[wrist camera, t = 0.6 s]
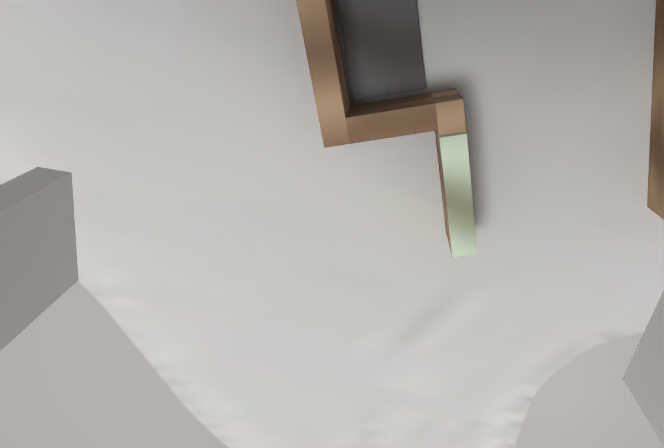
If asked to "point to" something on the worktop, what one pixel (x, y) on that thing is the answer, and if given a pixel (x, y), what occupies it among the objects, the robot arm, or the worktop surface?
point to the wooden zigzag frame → (418, 97)
